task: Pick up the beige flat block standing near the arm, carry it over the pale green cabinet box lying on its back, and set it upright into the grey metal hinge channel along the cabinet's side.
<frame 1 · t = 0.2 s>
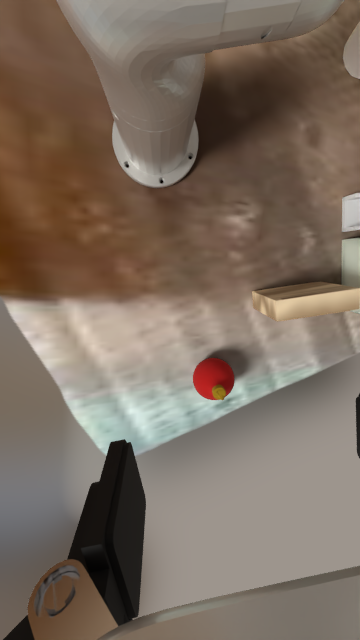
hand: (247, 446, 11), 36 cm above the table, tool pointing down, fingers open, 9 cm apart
christmas ornament: (209, 369, 50), on the table
beige flat block: (286, 294, 47), on the table
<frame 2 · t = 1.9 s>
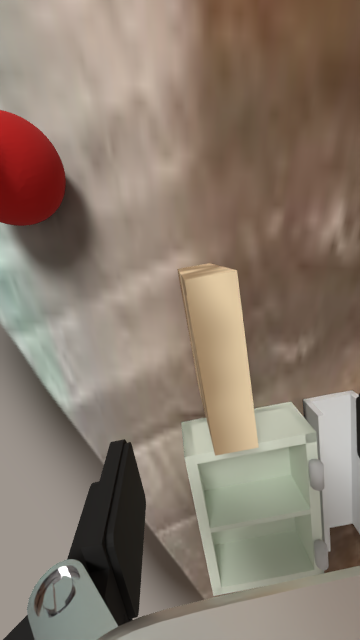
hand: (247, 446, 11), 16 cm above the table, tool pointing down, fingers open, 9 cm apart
cabinet: (279, 472, 31), on the table
christmas ornament: (36, 185, 22), on the table
beige flat block: (203, 327, 26), on the table
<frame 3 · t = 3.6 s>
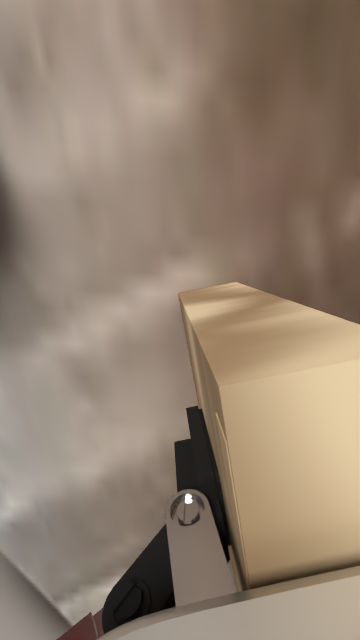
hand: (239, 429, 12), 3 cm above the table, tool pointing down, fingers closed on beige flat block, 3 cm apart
beige flat block: (223, 392, 15), on the table, touching gripper
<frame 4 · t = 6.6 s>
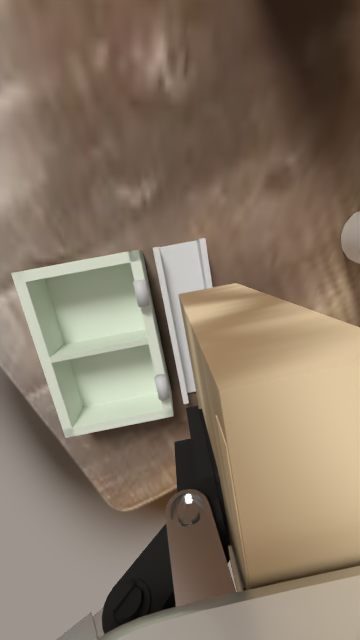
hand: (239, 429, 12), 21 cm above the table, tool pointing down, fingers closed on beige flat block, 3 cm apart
cabinet: (141, 330, 32), on the table
beige flat block: (223, 393, 15), point 18 cm above the table, touching gripper
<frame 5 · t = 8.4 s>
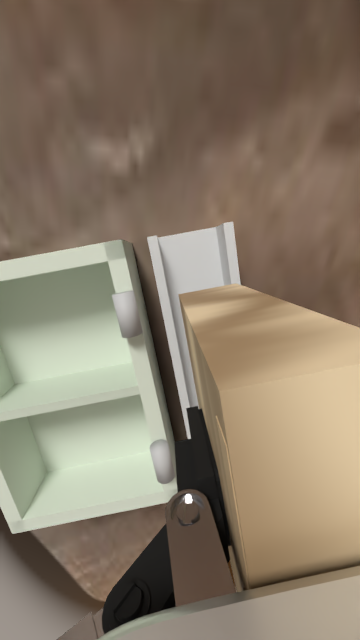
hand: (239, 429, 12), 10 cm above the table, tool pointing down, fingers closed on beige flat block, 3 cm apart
cabinet: (132, 361, 21), on the table
beige flat block: (223, 393, 15), point 7 cm above the table, touching gripper
when the fingers open (5 cm above the table, at t = 9.7 s): beige flat block drops 1 cm, resting on cabinet.
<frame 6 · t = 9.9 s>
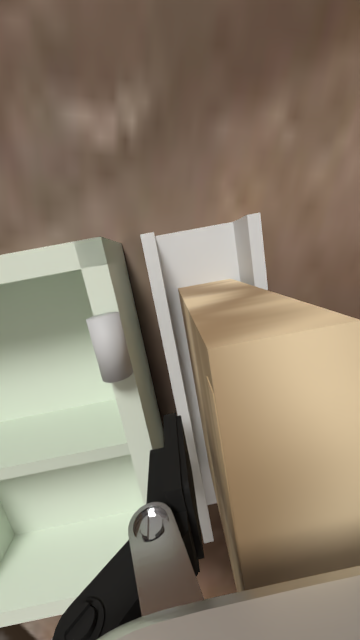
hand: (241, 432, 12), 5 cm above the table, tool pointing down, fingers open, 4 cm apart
cabinet: (122, 395, 17), on the table
beige flat block: (218, 380, 16), point 1 cm above the table, touching cabinet
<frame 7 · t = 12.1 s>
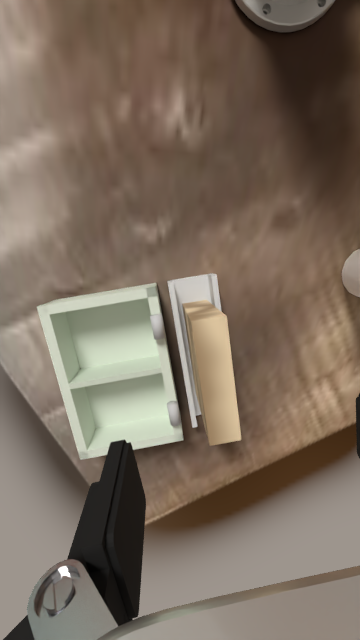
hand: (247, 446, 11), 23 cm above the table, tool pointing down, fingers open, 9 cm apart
cabinet: (153, 356, 34), on the table
beige flat block: (201, 348, 33), point 1 cm above the table, touching cabinet
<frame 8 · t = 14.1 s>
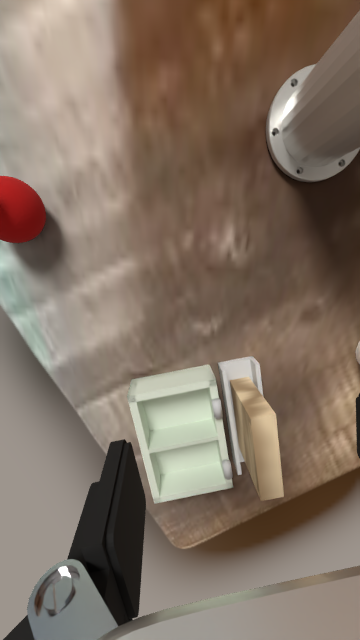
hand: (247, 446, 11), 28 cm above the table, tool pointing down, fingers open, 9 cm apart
cabinet: (205, 418, 42), on the table
christmas ornament: (27, 215, 34), on the table
beige flat block: (243, 412, 42), point 1 cm above the table, touching cabinet
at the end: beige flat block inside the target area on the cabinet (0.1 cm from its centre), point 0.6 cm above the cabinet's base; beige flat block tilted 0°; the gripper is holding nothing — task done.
